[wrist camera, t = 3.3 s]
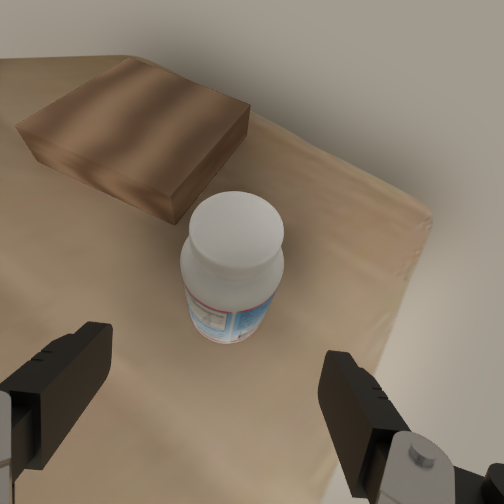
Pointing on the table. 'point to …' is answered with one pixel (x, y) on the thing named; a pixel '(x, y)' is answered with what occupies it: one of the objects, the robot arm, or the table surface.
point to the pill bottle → (232, 264)
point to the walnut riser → (140, 136)
